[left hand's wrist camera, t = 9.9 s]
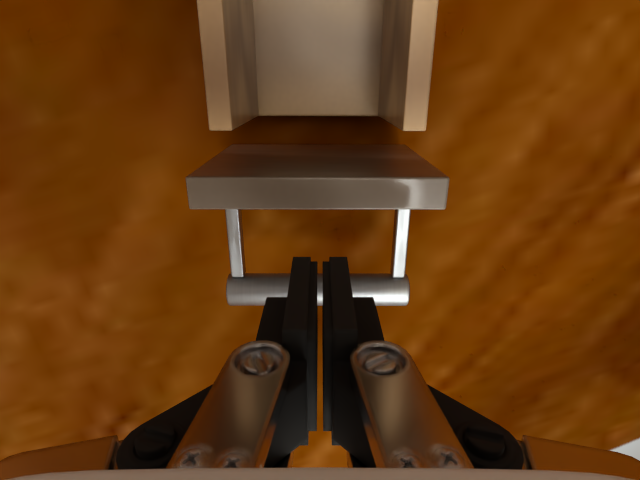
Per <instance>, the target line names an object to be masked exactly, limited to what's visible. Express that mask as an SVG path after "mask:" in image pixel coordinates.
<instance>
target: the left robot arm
mask: <svg viewBox="0 0 640 480" xmlns="http://www.w3.org/2000/svg"><path fill="white" fill-rule="evenodd" d="M308 431H317V262H311V258H310V257H293V261H292V268H291V274H290V281H289V287H288V294H287V297H267V298H266V301H265V305H264V309H263V313H262V317H261V321H260V325H259V329H258V333H257V337H256V341H253V342H249V343H246V344H244V345H241V346H240V347H238V348H237V349H235V350H234V351H233V352H232V353H231V355H230V356H229V357H228V359H227V361H226V363H225V365H224V366H223V368H222V370H221V372H220V373H219V375H218V377H217V379H216V380H215V382H214V384H213V385H211V386H209V387H207V388H206V389H204V390H202V391H200V392H199V393H197V394H195V395H193V396H191V397H190V398H188V399H186V400H184V401H183V402H181V403H179V404H177V405H175V406H174V407H172V408H170V409H168V410H167V411H165V412H163V413H161V414H160V415H158V416H156V417H154V418H152V419H151V420H149V421H147V422H145V423H144V424H142V425H140V426H139V427H137V428H136V429H135V430H133V431H132V432H131V433H130V434H129V435H128V436H127V437H126V438H125V439H124V440H121V441H118V437H117V435H114V436H109V437H103V438H98V439H92V440H87V441H81V442H76V443H70V444H65V445H60V446H54V447H49V448H43V449H38V450H32V451H27V452H22V453H19V454H15V455H12V456H9V457H7V458H5V459H3V460H1V461H0V480H640V461H639V460H637V459H635V458H633V457H631V456H628V455H625V454H621V453H618V452H613V451H608V450H602V449H597V448H591V447H586V446H580V445H575V444H570V443H564V442H559V441H553V440H548V439H542V438H537V437H531V436H526V435H523V437H522V441H519V440H516V439H515V438H514V437H513V436H512V435H511V434H510V433H509V432H508V431H507V430H505V429H504V428H503V427H501V426H500V425H498V424H496V423H495V422H493V421H491V420H489V419H488V418H486V417H484V416H482V415H480V414H479V413H477V412H475V411H473V410H472V409H470V408H468V407H466V406H465V405H463V404H461V403H459V402H457V401H456V400H454V399H452V398H450V397H449V396H447V395H445V394H443V393H441V392H440V391H438V390H436V389H434V388H433V387H431V386H429V385H427V384H426V382H425V380H424V379H423V377H422V375H421V373H420V372H419V370H418V368H417V366H416V365H415V363H414V361H413V359H412V357H411V356H410V355H409V353H408V352H407V351H406V350H405V349H403V348H402V347H400V346H399V345H396V344H394V343H391V342H387V341H384V337H383V333H382V329H381V325H380V321H379V317H378V313H377V309H376V305H375V301H374V298H373V297H353V294H352V288H351V281H350V274H349V268H348V261H347V257H330V258H329V262H323V431H332V445H341V446H342V447H343V448H344V449H346V450H347V465H348V468H292V465H293V450H294V449H296V448H297V447H298V446H299V445H308Z"/></svg>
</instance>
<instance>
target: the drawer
mask: <svg viewBox="0 0 640 480" xmlns="http://www.w3.org/2000/svg"><path fill="white" fill-rule="evenodd" d="M197 9H198V19H199V30H200V40H201V50H202V60H203V70H204V81H205V91H206V101H207V111H208V121H209V129H210V130H211V131H231V130H233V129H235V128H237V127H239V126H241V125H243V124H244V123H246V122H248V121H250V120H252V119H253V118H255V117H257V116H379V117H381V118H382V119H384V120H386V121H387V122H389V123H391V124H393V125H394V126H396V127H398V128H399V129H401V130H403V131H425V130H426V123H427V112H428V102H429V92H430V81H431V71H432V61H433V50H434V40H435V30H436V19H437V9H438V0H197ZM186 185H187V193H188V201H189V208H190V209H225V211H226V222H227V233H228V245H229V256H230V267H231V274H229V276H228V279H227V285H226V297H227V302H228V304H229V305H265V301H266V298H267V297H287V294H288V287H289V281H290V274H289V273H245V272H246V270H245V256H244V243H243V229H242V216H241V209H395V217H394V230H393V244H392V257H391V271H390V272H391V274H350V281H351V288H352V294H353V297H373V298H374V301H375V305H376V306H406V305H407V304H408V302H409V296H410V286H409V279H408V276H407V275H406V274H405V267H406V256H407V244H408V233H409V222H410V211H411V210H443V209H445V208H446V202H447V194H448V186H449V177H448V176H446V175H445V174H444V173H442V172H441V171H440V170H438V169H437V168H436V167H434V166H433V165H431V164H430V163H429V162H427V161H426V160H425V159H423V158H422V157H421V156H419V155H418V154H417V153H415V152H414V151H413V150H411V149H410V148H409V147H407V146H406V145H316V144H232V145H231V146H229V147H228V148H226V149H225V150H223V151H222V152H221V153H219V154H218V155H216V156H215V157H214V158H212V159H211V160H209V161H208V162H207V163H205V164H204V165H202V166H201V167H199V168H198V169H197V170H195V171H194V172H192V173H191V174H190V175H188V176H187V177H186ZM317 305H323V274H317Z"/></svg>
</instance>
